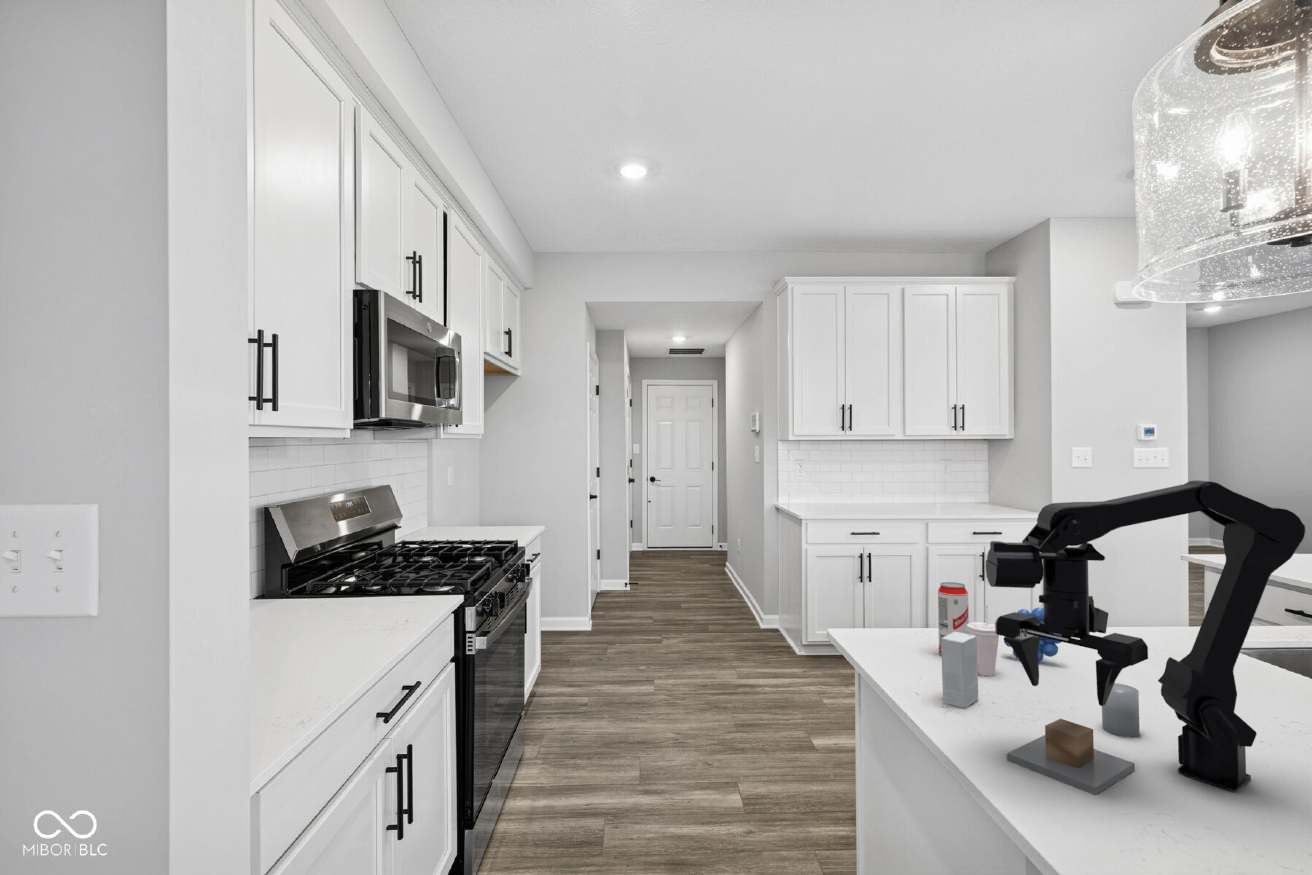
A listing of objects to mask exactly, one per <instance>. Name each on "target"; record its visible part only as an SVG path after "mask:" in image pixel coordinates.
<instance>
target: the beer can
mask: <svg viewBox="0 0 1312 875" xmlns="http://www.w3.org/2000/svg"><path fill="white" fill-rule="evenodd" d="M937 612H938V613H937V616H938V617H937V619H938V620H937V621H938V623H937V624H938V628H937V630H938V651H939V654H940V655H942V650H941V638H943V637H945V636H947V635H949V634H951V633H953V632H960V633H965V634H969V631H968V630H967V624H968V623H970V620H969V618H970V617H969V593H968V591H967V588H966V585H965V583H960V582H953V581H951V582H950V581H945V582H940V586H939V587H938V589H937Z"/></svg>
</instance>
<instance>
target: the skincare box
mask: <svg viewBox="0 0 1312 875" xmlns="http://www.w3.org/2000/svg"><path fill="white" fill-rule="evenodd" d="M941 650H942V654H941V677H942V678H941V679H942V682H941V683H942V703H943V704H947V705H950V706H954V707H958V708H961V709H967V708H968V707H970V706H971V705H972V704H973V703H975V702H977V701H978V700H979V675H978V670H977V638H976V636H975V635H970V634H965V633H960V632H953V633H951V634H949V635H947V636H945V637H943V638H941Z"/></svg>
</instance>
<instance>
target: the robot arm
mask: <svg viewBox="0 0 1312 875" xmlns="http://www.w3.org/2000/svg"><path fill="white" fill-rule="evenodd" d="M1196 512H1197V513H1198V512H1200V513H1201V514H1202V515H1204V516H1205V517H1207V518H1208V519H1209V520H1212V521H1213V522H1215V523H1217V524H1219V525H1221V526H1222V527H1224V528H1223V535H1222V544H1223V550H1224V555H1225V563H1224V565H1223V569H1222V572H1221V574H1220V575H1219V576H1220V577H1219V579H1218V581H1217V584H1216V587H1215V590H1214V592H1213V595H1212V597H1211V599H1210V601H1209V605H1208V608H1207V610H1206V612H1205V616H1204V617H1203V620H1202V622H1201V625H1200V628H1199V630H1198V632H1197V636H1196V637H1195V641H1194V643H1193V645H1192V648H1191V650H1190V652H1189V653H1188V654H1187V655H1186V656H1184V657H1183V658H1182V659H1180V660H1176V659H1175V658H1173V657H1172V656H1171V657H1170V656H1169V657H1168V659H1166V663H1165V668H1164V669H1165V670H1164V672H1163V673H1162V675H1161V676H1160V678H1158V680H1157V681H1158V682H1159V683H1160V684H1161V688H1160V695H1161V696H1162V699H1163V700H1164V702H1165V704H1167V705H1168V707H1169V708H1171V709H1172V710H1173V711H1174V713H1175V715H1176V716H1175V717H1176V718H1177V719H1178V720H1179V721H1181V722H1182V723H1184V725H1183V726H1182V727H1181V734H1179V735H1178V736H1177V746H1178V747H1177V748H1178V750H1177V753H1178V754H1177V755H1178V763H1179V765H1180V766H1179V767H1178V769H1177V773H1179V774H1181V775H1184V776H1187V777H1191V778H1192V779H1196V780H1199V781H1202V782H1205V783H1207V784H1211V785H1213V786H1217V787H1220V788H1222V789H1226V790H1229V791H1232V792H1237V791H1239V790H1240V789H1242V787H1243V786H1245V785H1246V784H1247V783H1248V782H1250V781H1251V780H1252V775H1250V774H1249V773H1247V760H1246V757H1247V754H1246V748H1247V747H1249V748H1251V747H1252V746H1253V744H1254V741H1255V739H1256V737H1257V731H1256V730H1255V729H1253V727H1251V726H1250V725H1249V724H1248V723H1247V722H1246V721H1245V720H1244V719H1242V718H1241V717H1240V716H1239V715H1238V714H1236V713H1235V710H1236V705H1237V704H1236V703H1237V697H1238V690H1237V685H1236V680H1235V679H1236V678H1235V674H1234V670H1235V666H1236V663H1237V661H1238V658H1239V655H1240V654H1241V651H1242V647H1243V646H1244V643H1245V640H1246V638H1247V636H1248V632H1249V630H1250V628H1251V625H1252V622H1253V620H1254V617H1255V615H1256V612H1257V611H1258V610H1257V609H1258V607H1259V605H1260V603H1261V600H1262V597H1263V594H1264V592H1265V589H1266V587H1267V584H1268V582H1269V579H1270V577H1271V576H1272V574H1273V573H1274V572H1275V571H1276V570H1279V568H1280V567H1282V566H1283V565H1285V564H1286V563H1287V562H1288V561H1289V560H1291V558H1292V557H1293V555H1294V554H1295V553H1296V551H1297V550H1298V548H1299V546H1300V545H1301V543H1302V542H1303V540H1304V538H1305V534H1306V525H1305V524H1303V521H1302V520H1301V518H1300V517H1299V516H1298V515H1297V514H1296V513H1294V512H1293V511H1291V510H1289V509H1286V508H1280V507H1278V508H1277V507H1273V506H1268V505H1266V504H1264V503H1263V502H1259V501H1257V500H1254V499H1252V498H1249V497H1248V496H1245V495H1243V494H1241V493H1240V494H1239V493H1237V492H1235V491H1232V490H1231V489H1229V488H1227V487H1225V486H1224V485H1221V483H1219V482H1215V481H1208V480H1190V481H1187V482H1186V483H1184V484H1178V485H1174V486H1169V487H1165V488H1160V489H1155V490H1154V489H1153V490H1150V491H1145V492H1140V493H1136V494H1132V495H1126V496H1122V497H1118V498H1112V499H1108V500H1107V499H1106V500H1103V501H1102V500H1101V501H1072V502H1069V501H1068V502H1067V501H1066V502H1052V503H1049V504H1046V505H1044V506H1043V507H1042V508H1041V510H1040V511H1039V513H1038V515H1037V518H1036V524H1035V525H1034V526H1033V527H1032V529H1031V530H1030V531H1029V532H1028V533H1027V535H1026V536H1025V537H1024V539H1022V541H1021V542H1004V541H1001V540H1000V541H999V540H998V541H997V540H994V541H993V540H992V541H990V542H989V546H990V547H989V550H988V552H987V556H986V557H987V558H986V559H985V574H986V579H987V582H988V585H989V586H990V587H992V588H1017V589H1018V588H1021V589H1033V588H1035V587H1036V585H1040V584H1041V582H1042V587H1043V591H1042V593H1043V594H1040V595H1038V603H1042V604H1043V609H1044V622H1042V623H1039V620H1038V619H1037V617H1036V616H1031V615H1026V614H1021V613H1017V612H1015V611H1014V612H1010V613H1007V614H1003V615H1000V616H998V617H997V618H996V620H995V622H994V625H995V633H996V634H997V635H999V636H1002V637H1003V642H1004V641H1005V642H1008V643H1009V644H1010V646H1011V647H1010V648H1011V649H1012V651H1013V650H1014V652H1015V653H1016V655H1017V657H1018V658H1017V659H1018V660H1019V662H1020V664H1021V666H1022V668H1023V669H1024V672H1025V674H1026V675H1027V677H1028V679H1029V682H1030V683H1031V685H1032V686H1033V687H1038V686H1039V684H1040V665H1039V663H1040V662H1038V646H1039V642H1040V639H1041V637H1043V638H1047V639H1052V640H1056V641H1060V642H1061V643H1064V644H1065V643H1066V644H1069V645H1073V646H1079V647H1083V648H1087V649H1091V650H1095V651H1097V654H1098V656H1099V657H1100V659H1097V660H1095V673H1096V675H1095V676H1096V695H1097V696H1096V697H1097V701H1098V704H1099V705H1098V706H1101V707H1102V706H1104V705H1105V704H1106V702H1107V700H1108V697H1109V695H1110V692H1111V690H1112V688H1113V685H1114V683H1116V680H1117V679H1118V676H1119V675H1120V674H1121V672H1122V671H1123V669H1125V668H1127V667H1130V666H1135V665H1137V664H1139V663H1142V662H1144V661H1146V660H1148V659H1149V648H1148V645H1147V643H1146V642H1145V640H1144V639H1143V638H1141V637H1137V636H1131V635H1127V634H1121V633H1117V632H1113V633H1110V634H1106V633H1107V627H1108V620H1109V614H1110V613H1109V612H1107V611H1106V610H1103V609H1100V608H1099V607H1095V602H1094V598H1093V596H1092V595H1089V586H1090V585H1089V561H1093V562H1094V561H1099V562H1101V561H1105V560H1106V557H1105V555H1103V554H1102V553H1101V552H1099V551H1098V550H1097V549H1096V548H1095V547H1094V546H1093V544H1092V543H1089V542H1091V541H1095V540H1097V539H1100V538H1103V537H1104V536H1106V535H1107V534H1109V533H1110V532H1112V531H1114V530H1116V529H1117V530H1118V529H1120V528H1123V527H1128V526H1133V525H1138V524H1142V523H1143V524H1144V523H1147V522H1148V523H1149V522H1154V521H1157V520H1163V519H1168V518H1172V517H1177V516H1182V515H1183V516H1184V515H1187V514H1191V513H1192V514H1193V513H1196ZM1053 633H1056V634H1060V635H1056V634H1053ZM1090 633H1098V634H1106V635H1104V636H1098V635H1094V634H1090ZM1061 635H1062V636H1061Z"/></svg>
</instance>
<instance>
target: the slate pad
mask: <svg viewBox="0 0 1312 875" xmlns="http://www.w3.org/2000/svg"><path fill="white" fill-rule="evenodd" d="M1006 759H1007V761H1009V762H1012V763H1015V764H1017V765H1019V766H1022V767H1024V768H1027V769H1029V770H1031V771H1034V772H1037V773H1039V774H1043V775H1045V776H1047V777H1048V778H1049V777H1050V778H1052V779H1055V780H1057V781H1059V782H1063V783H1065V784H1067V785H1069V786H1072V787H1074V788H1076V789H1080V790H1082V791H1084V792H1087V793H1090V794H1092V795H1095V796H1096V795H1098V794H1099V793H1101V792H1103V791H1104V790H1106V789H1107V788H1109V787H1111V786H1112V785H1113V784H1116V783H1117V782H1119V781H1120V780H1122V779H1124V778H1125V777H1127V776H1128V775H1129V773H1130V774H1131V773H1132V772H1135V771H1136V763H1135V762H1132V761H1129V760H1126V759H1124V758H1122V757H1117V756H1115V755H1112V754H1109V753H1106V752H1103V751H1100V750H1098V749H1095V748H1094V760H1093V761H1091V762H1089V763H1088V764H1086V765H1084V766H1082V767H1080V768H1076V767H1073V766H1071V765H1068V764H1065V763H1063V762H1060V761H1057V760H1055V759H1052V758H1050V757H1047V756H1046V743H1045V734H1044V735H1041V736H1039V737H1037V738H1035V739H1033V740H1031V741H1029V742H1027V743H1025V744H1023V745H1021V746H1019V747H1017V748H1014V749H1011V751H1009V752H1006Z"/></svg>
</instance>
